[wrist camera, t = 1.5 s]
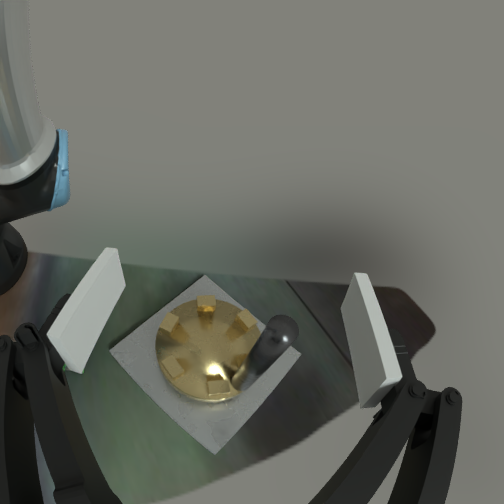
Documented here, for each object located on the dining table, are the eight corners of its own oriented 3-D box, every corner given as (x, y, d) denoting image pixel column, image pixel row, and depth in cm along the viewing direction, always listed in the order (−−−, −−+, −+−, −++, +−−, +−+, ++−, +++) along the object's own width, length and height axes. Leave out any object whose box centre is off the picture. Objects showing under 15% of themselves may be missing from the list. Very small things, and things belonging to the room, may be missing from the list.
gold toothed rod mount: (137, 337, 35) (113, 247, 21) (217, 291, 43) (242, 195, 29) (200, 424, 29) (218, 399, 16) (280, 363, 37) (346, 294, 24)
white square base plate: (110, 353, 35) (106, 346, 33) (204, 278, 47) (205, 269, 45) (213, 454, 29) (216, 455, 27) (298, 356, 42) (305, 350, 40)
